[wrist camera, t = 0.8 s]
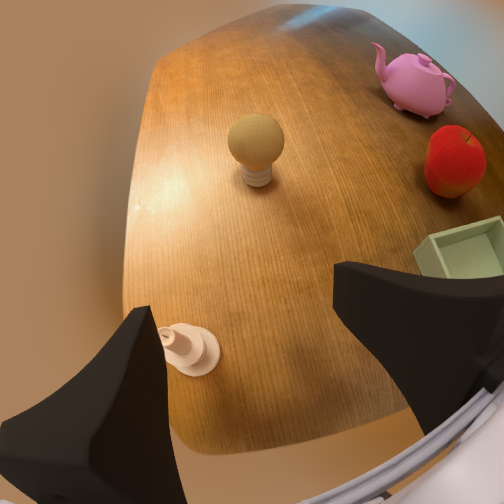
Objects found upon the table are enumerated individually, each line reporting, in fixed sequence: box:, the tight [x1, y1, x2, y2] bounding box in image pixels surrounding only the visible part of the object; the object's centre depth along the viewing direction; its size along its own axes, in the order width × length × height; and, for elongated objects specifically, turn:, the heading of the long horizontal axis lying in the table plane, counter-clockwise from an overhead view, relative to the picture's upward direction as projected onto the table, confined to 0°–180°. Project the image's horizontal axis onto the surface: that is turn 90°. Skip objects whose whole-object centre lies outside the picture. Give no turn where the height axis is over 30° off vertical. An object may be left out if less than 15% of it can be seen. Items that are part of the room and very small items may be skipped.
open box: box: [412, 216, 504, 279], centre depth 27 cm, size 13×16×4 cm
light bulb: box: [228, 114, 284, 187], centre depth 32 cm, size 6×6×10 cm
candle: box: [158, 323, 220, 377], centre depth 23 cm, size 5×5×10 cm
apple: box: [424, 125, 487, 199], centre depth 31 cm, size 9×9×12 cm
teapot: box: [372, 42, 455, 118], centre depth 40 cm, size 20×14×12 cm
